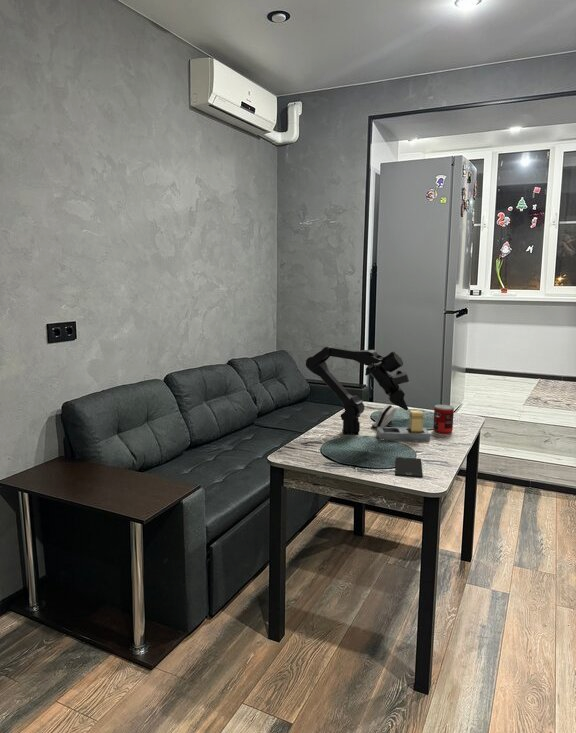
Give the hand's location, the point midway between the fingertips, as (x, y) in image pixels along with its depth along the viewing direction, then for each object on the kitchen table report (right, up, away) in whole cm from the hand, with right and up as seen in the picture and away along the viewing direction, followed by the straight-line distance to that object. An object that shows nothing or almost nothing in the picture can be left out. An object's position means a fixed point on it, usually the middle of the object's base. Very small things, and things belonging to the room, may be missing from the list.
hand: (405, 406), depth 219 cm
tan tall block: (+4, -13, +1) cm, 14 cm away
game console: (-5, -10, +21) cm, 23 cm away
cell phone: (-6, -19, -34) cm, 40 cm away
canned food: (+18, -12, +11) cm, 24 cm away
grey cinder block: (-1, -13, +1) cm, 13 cm away
